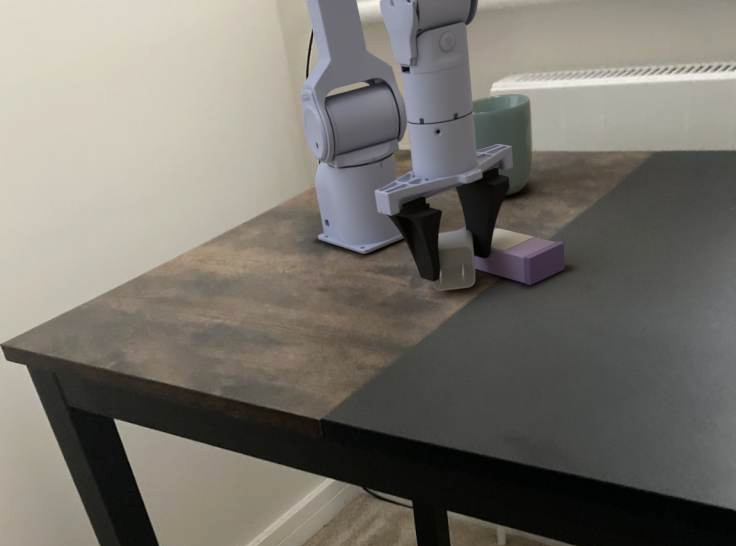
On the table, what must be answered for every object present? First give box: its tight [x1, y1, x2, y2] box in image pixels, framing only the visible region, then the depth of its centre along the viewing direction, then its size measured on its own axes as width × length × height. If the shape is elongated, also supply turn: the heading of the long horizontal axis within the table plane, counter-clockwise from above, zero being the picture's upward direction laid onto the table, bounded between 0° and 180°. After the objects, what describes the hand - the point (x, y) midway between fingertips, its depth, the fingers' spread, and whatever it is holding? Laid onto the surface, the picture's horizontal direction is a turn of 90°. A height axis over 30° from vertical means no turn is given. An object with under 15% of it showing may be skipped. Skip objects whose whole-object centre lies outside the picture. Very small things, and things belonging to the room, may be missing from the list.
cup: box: [472, 93, 533, 197], centre depth 104 cm, size 8×8×10 cm
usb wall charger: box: [431, 230, 476, 292], centre depth 84 cm, size 4×7×4 cm, turn 174°
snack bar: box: [455, 225, 566, 286], centre depth 87 cm, size 12×4×3 cm, turn 36°
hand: (455, 266), depth 85 cm, fingers closed on usb wall charger, 6 cm apart
